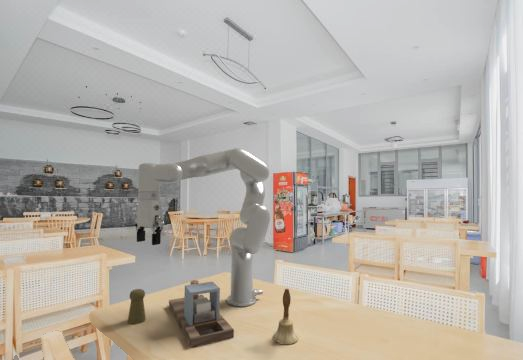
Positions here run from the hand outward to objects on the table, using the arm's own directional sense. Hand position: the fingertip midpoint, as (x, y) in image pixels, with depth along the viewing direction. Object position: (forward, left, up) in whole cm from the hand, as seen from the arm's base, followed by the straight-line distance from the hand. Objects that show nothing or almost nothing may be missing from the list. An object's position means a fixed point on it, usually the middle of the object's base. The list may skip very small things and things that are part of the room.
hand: (148, 242), depth 109 cm
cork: (+3, -1, -28) cm, 29 cm away
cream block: (-17, +13, -26) cm, 33 cm away
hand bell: (-39, +34, -28) cm, 59 cm away
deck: (-17, +8, -28) cm, 34 cm away
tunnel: (-17, +13, -26) cm, 33 cm away
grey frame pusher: (-17, +9, -25) cm, 32 cm away
